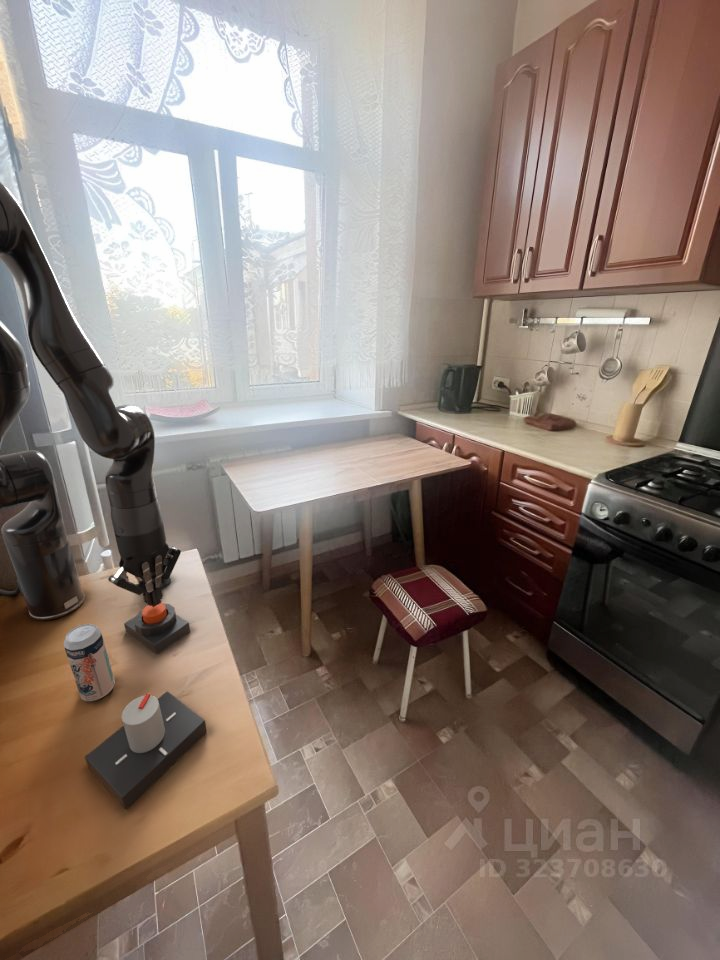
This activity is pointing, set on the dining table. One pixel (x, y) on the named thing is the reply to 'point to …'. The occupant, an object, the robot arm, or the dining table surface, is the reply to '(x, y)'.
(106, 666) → the beer can
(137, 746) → the timer knob
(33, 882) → the dining table surface
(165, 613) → the button
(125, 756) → the timer panel
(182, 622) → the button block
